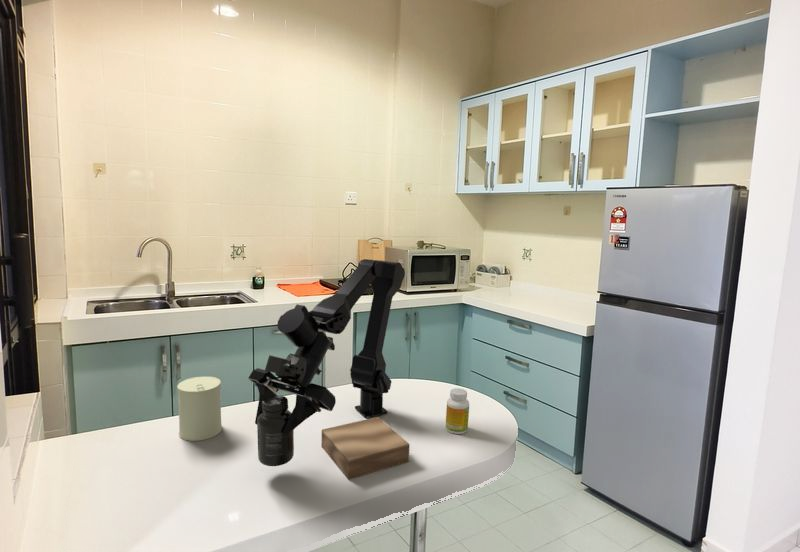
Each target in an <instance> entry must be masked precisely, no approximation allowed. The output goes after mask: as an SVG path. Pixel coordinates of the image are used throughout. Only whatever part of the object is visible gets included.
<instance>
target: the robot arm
mask: <svg viewBox="0 0 800 552" xmlns="http://www.w3.org/2000/svg"><path fill="white" fill-rule="evenodd" d="M405 275H406V272H405V268H404V267H403V265H402V263H400V262H397V261H388V260H387V261H386V260H379V259H378V260H377V259H369V258H364V259H361V260H359V262H358V264H357V267H356V268H355V270H354V271H352V273H351V274H350V276H349V277H348V278H347V279H346V281H345V282H343V284H342V285H341V286H340V287H339V289H338V290H337V291H336V292H335V293H334V294H333V295H331V296H328V297H326V298H324V299H322V300H321V301H319V303H317V304H316V305H315V306H314V307H313V308H312V310H310V311H309V310H308V308H307V307H306V305H304V304H296V305H295V306H294V308H291V309H289V310H286V311H285V312H284V313H283V314H282V315H280V316H279V318H278V320H277V324H276V325H277V329H278V331H279V332H280V333H281V334H282V335H284V337H285V338H286V339H287V340H289V342H290V343H291V344H292V345H293V346H294V347H297V349H296V350H295V353H294V354H293V353H289V354H288V355H287V356H286V358H283V357H279V356H274V355H271V354H269V355H268V359H267V362H266V365H265V368H264V369H262V368H259V367H257V368H254V369H252V371H251V372H250V374H249V376H248V378H247V379H248V380H249V381H250V382H252V383H253V384H254V386H255V387H256V388H257V390H258V404H257V410H256V414H255V415H256V416H255V421H254V423H255V425H257V419H258V417H259V415H260V414H261V413H262V401H263V400H264V399H265V398H267V397H270V396H278V395H277V394H276V393H277V392H279V391H284V392H286V393H289V394H293V395H295V405H294V408H293V410H292V412H291V415H290V417H289V419H288V421H287V423H286V425H285V428H284V430H283V434H284V435H288V434H289V433H290V432H291V431H292V430H295V429H297V427H299V425H301V424H302V423H303V422H304V421H306V420H307V419H309V418H310V417H311V416H313V415H314V414H316V413H317V412H318V413H321V412H322V409H323V410H326V411H329V412H333V410H334V408H335V405H336V402H337V401H336V400H337V399H336V395H334V394H333V393H332V392H331V391H330V390H329V389H328V387H326V386H323V385H319V384H316V383H313V382H312V381H313V380H314V378H315V375H317V376H320V374H321V372H322V370H321V369H320V366H321V364H322V361H323V360H324V357H325V355H326V354H327V352H328V350H330V351H335V348H336V347H335V346H336V345H335V343H334V337H331V336H328V335H327V334H326V333H328V334H334V335H340V334H342V333H343V332H344V330H345V329H346V328H347V325H348V324H349V322H350V320H351V318H352V313H351V312H352V309H353V307H354V306H355V305H356V303H357V302H358V301H359V300H360V298H362V295H364V294H365V292H366V291H367V289H368V288H369V287H370V288H371V290H372V292H373V296H372V301H371V307H370V310H369V316H368V321H367V326H366V331H365V337H364V341H363V345H362V346H363V347H362V349H361V351H359V353H358V354H354V355H353V356H352V361H351V367H350V369H349V371H350V372H349V373H350V379H351V383H352V387H353V388H356V389H360V398H359V399H360V401H359V405H355V406H354V409H355V410H356V411H357V412H359V414H360V415H362V416H363V417H364V418H367V419H368V418H370V417H371V418H373V417H376V416H380V415H384V414H388V410H387V409H386V408H385V407H384V406H383V403H384V398H383V397H384V396H383V395H384V394H387V393H389V391H390V390H391V387H392V380H391V378H390V377H389V376H388V374H387V373H386V367H387V364H386V361H385V357H384V355H383V349H384V342H385V338H386V332H387V327H388V324H389V323H388V321H389V318H390V312H391V306H392V301H393V297H394V296H395V295H396V294H397V292H399V290H400V289H401V288H402V284H403V281H404V278H405ZM276 376H277V377H276ZM279 378H280V379H279Z"/></svg>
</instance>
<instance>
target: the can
mask: <svg viewBox="0 0 800 552" xmlns="http://www.w3.org/2000/svg"><path fill="white" fill-rule="evenodd" d="M221 384H222V381H221V380H220V379H219V378H218V377H215V376H194V377H189V378H187V379H184V380H182V381H181V382H179V383H178V384H177V386H176V387H177V398H178V400H177V401H178V402H177V403H178V420H179V421H178V422H179V423H178V424H179V429H178V430H179V431H178V436H179V437H180V439H182V440H186V441H188V442H189V441H193V442H197V441H204V440H208V439H211V438H214V437H216V436H217V435H220V433H221V431H222V429H223V426H222V400H221V397H222V394H221V393H222V392H221V391H222V390H221Z"/></svg>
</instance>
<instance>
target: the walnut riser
mask: <svg viewBox="0 0 800 552" xmlns="http://www.w3.org/2000/svg"><path fill="white" fill-rule="evenodd" d="M410 446H411V445H410V443H409V442H408V441H407V440H406V439H404V438H403V437H402V436H401V435H400V434H399V433H398V432H396V431H395V430H394V429H392V427H391V426H389V425H388V424H387V423H386V422H385V421H383V420H382V418H380V417H379V416H377V417H376V416H374V417H371V418H367V419H362V420H359V421H354V422H349V423H345V424H341V425H335V426H332V427H328V428H323V429H321V448H322V449H323V450H324V451H325V453H326V454H327V456H329V458H330V459H331V460H332V462H333V463H334V464H335V465H336V466H337V467H338V469H339V471H341V473H342V474H343V475H344V476H345V477H346V479H347V480H350V479H353V478H358V477H361V476H364V475H368V474H371V473H375V472H377V471H378V472H379V471H382V470H385V469H389V468H393V467H396V466H398V465H402V464H405V463H408V462H410Z"/></svg>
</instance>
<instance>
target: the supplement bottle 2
mask: <svg viewBox="0 0 800 552" xmlns="http://www.w3.org/2000/svg"><path fill="white" fill-rule="evenodd" d="M449 396H450V397H449V398H448V399H447V400H446V411H445V412H446V413H445V430H446V431H447V432H449V433H451V434H456V435H462V434H463V435H464V434H465V433H466V432H468V428H469V416H470V415H469V414H470V402H469V400H468V399H467V398H468V392H467V390H465V389H464V388H458V387H456V388H452V389H450V392H449Z"/></svg>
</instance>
